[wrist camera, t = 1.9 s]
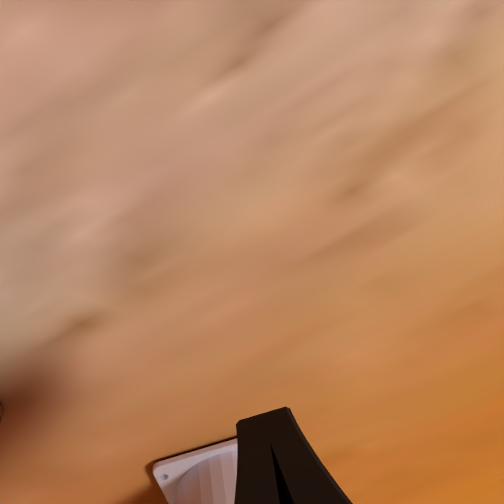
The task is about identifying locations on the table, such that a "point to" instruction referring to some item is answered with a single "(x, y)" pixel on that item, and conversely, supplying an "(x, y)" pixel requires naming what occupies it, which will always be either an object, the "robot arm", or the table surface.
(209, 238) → the table surface
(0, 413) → the wooden block
